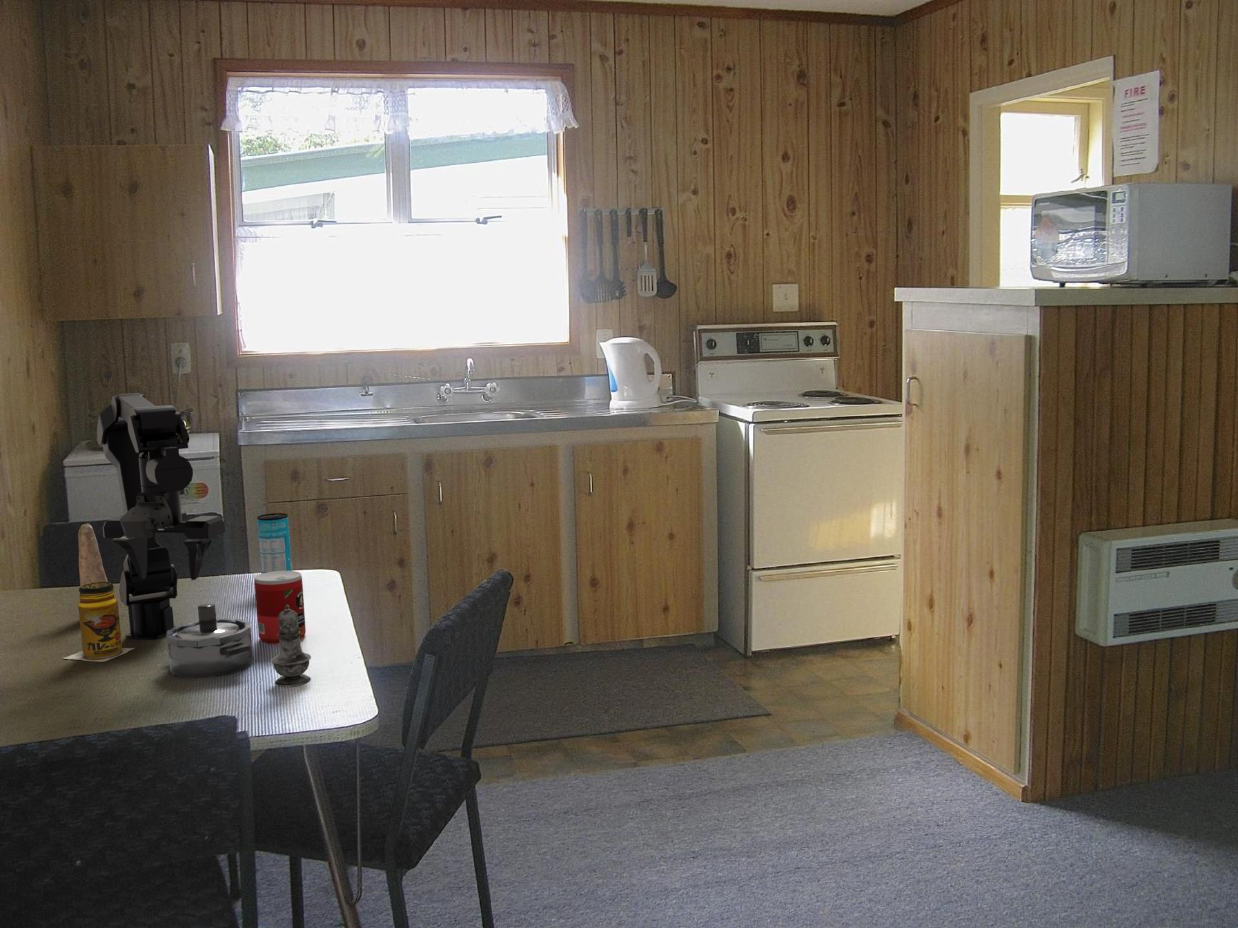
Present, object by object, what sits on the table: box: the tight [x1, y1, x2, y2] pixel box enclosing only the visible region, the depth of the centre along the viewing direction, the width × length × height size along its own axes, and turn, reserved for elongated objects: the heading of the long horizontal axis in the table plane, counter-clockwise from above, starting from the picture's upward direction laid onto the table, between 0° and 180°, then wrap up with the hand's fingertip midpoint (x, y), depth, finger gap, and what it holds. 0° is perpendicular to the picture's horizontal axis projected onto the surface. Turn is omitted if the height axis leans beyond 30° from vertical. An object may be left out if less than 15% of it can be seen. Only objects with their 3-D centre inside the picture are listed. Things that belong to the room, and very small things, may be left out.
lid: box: [178, 603, 239, 639], centre depth 195 cm, size 9×9×5 cm
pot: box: [165, 617, 254, 679], centre depth 195 cm, size 18×13×6 cm
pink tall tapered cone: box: [77, 523, 109, 588], centre depth 228 cm, size 6×18×6 cm
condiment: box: [62, 581, 136, 662], centre depth 204 cm, size 7×8×12 cm
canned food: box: [254, 570, 307, 645], centre depth 210 cm, size 8×8×11 cm
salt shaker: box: [270, 604, 312, 688], centre depth 185 cm, size 6×6×12 cm
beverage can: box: [256, 512, 293, 574], centre depth 245 cm, size 6×6×15 cm
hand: (168, 579), depth 200 cm, fingers open, 9 cm apart
